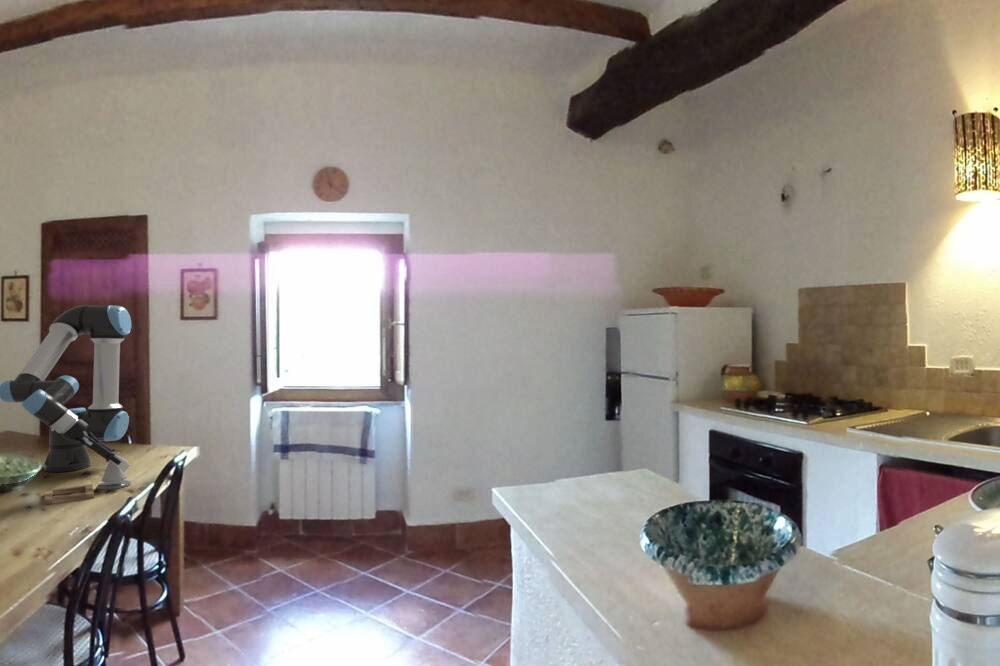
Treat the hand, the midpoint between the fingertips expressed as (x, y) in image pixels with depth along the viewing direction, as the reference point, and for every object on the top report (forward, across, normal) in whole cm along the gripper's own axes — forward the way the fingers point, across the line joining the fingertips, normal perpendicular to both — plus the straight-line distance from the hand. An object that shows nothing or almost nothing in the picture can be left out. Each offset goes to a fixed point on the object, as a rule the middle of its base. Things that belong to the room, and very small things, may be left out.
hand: (126, 467), depth 214 cm
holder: (-7, +6, -16) cm, 19 cm away
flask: (0, 0, -6) cm, 6 cm away
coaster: (+2, 0, -7) cm, 7 cm away
